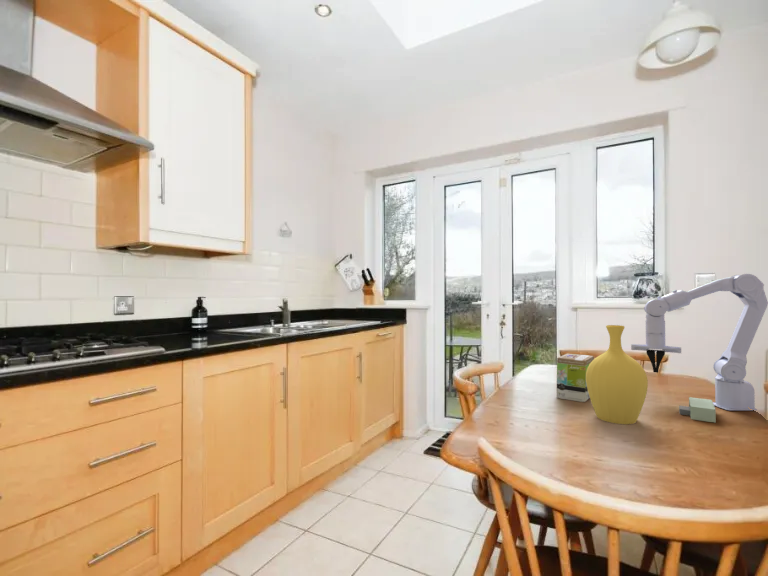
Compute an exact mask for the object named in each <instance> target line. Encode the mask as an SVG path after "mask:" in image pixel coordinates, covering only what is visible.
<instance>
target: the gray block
mask: <svg viewBox="0 0 768 576" xmlns="http://www.w3.org/2000/svg"><path fill="white" fill-rule="evenodd" d="M678 409H679V410H678V411H679V415H682V416H690V417H691V415H690V407H689V406H686V405H685V406H684V405H679V406H678Z"/></svg>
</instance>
